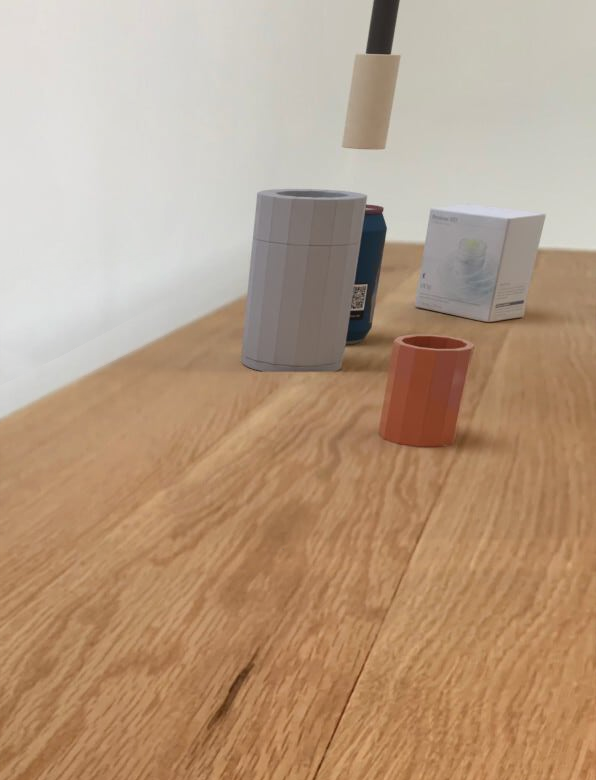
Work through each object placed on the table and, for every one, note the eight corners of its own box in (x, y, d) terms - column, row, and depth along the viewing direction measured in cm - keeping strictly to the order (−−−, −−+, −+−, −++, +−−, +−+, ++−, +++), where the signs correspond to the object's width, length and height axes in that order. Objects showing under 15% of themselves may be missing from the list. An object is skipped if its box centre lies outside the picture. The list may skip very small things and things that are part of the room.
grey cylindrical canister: (326, 353, 105) (349, 189, 98) (353, 375, 97) (380, 199, 90) (232, 353, 105) (248, 188, 97) (252, 375, 97) (271, 198, 90)
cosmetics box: (410, 307, 126) (428, 205, 120) (449, 302, 129) (467, 203, 123) (486, 323, 118) (509, 215, 113) (525, 317, 121) (549, 212, 116)
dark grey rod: (377, 146, 85) (426, -152, 75) (390, 149, 82) (443, -160, 73) (336, 145, 85) (380, -154, 75) (348, 149, 82) (396, -162, 72)
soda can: (287, 332, 113) (303, 202, 107) (349, 330, 114) (368, 202, 108) (316, 347, 107) (335, 210, 101) (382, 344, 109) (404, 209, 102)
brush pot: (437, 432, 82) (457, 334, 79) (464, 453, 78) (485, 350, 74) (369, 433, 82) (385, 334, 78) (391, 453, 77) (409, 350, 74)
